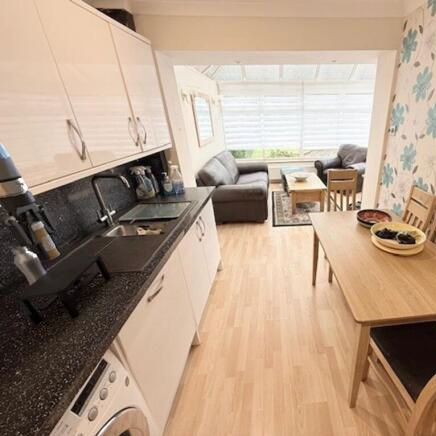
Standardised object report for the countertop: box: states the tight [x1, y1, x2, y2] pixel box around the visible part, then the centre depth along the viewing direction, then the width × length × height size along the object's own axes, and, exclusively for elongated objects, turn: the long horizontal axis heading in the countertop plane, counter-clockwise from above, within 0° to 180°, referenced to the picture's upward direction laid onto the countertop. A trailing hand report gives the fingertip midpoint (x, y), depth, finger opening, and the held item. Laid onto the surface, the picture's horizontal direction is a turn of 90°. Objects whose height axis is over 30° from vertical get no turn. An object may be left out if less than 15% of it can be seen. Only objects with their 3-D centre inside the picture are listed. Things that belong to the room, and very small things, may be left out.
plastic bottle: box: [11, 245, 47, 286], centre depth 96 cm, size 6×7×20 cm
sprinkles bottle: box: [31, 221, 61, 261], centre depth 82 cm, size 5×5×14 cm
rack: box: [14, 254, 112, 325], centre depth 91 cm, size 14×22×12 cm, turn 8°
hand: (51, 255), depth 84 cm, fingers closed on sprinkles bottle, 4 cm apart
